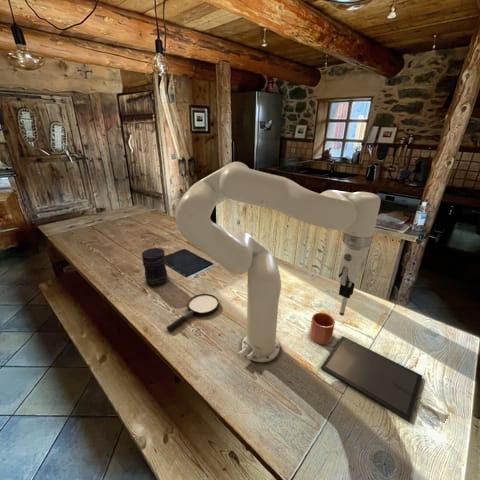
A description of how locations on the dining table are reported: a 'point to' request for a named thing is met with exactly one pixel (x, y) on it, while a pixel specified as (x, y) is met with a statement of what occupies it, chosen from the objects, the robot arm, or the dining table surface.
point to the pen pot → (322, 328)
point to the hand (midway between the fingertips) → (345, 294)
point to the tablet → (374, 376)
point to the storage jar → (154, 267)
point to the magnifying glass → (197, 308)
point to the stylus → (343, 305)
